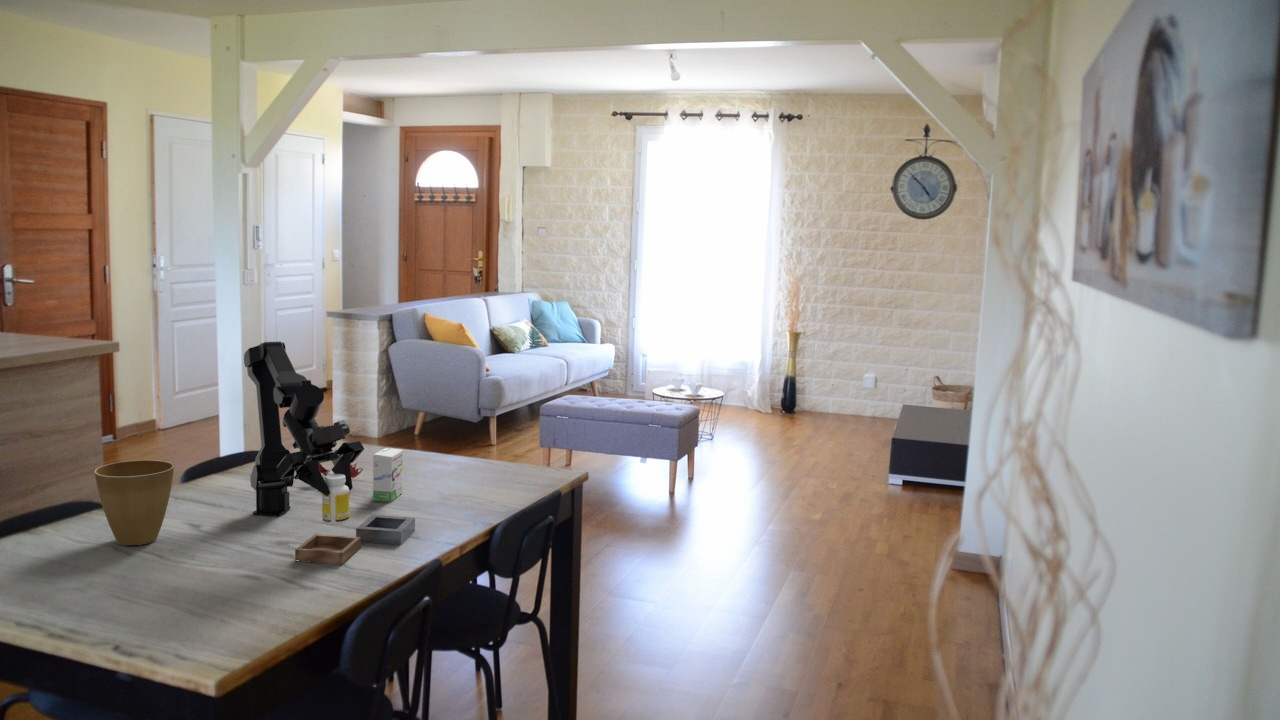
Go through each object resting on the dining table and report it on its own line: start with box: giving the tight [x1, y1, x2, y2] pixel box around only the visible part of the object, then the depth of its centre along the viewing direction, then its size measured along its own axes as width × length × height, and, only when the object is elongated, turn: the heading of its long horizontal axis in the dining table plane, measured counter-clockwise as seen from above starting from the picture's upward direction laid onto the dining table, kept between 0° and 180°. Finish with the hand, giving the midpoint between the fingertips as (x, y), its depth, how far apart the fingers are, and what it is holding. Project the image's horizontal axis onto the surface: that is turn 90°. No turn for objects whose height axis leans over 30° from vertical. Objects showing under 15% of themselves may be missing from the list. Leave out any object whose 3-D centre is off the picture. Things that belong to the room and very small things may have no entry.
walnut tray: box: [294, 533, 362, 566], centre depth 202 cm, size 10×10×2 cm
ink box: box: [372, 447, 404, 503], centre depth 245 cm, size 8×5×12 cm, turn 174°
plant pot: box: [93, 459, 175, 546], centre depth 205 cm, size 15×15×16 cm
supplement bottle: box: [321, 474, 350, 526], centre depth 202 cm, size 5×5×10 cm
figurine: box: [318, 462, 364, 480], centre depth 254 cm, size 15×12×7 cm
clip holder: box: [355, 514, 416, 546], centre depth 215 cm, size 10×10×3 cm
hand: (340, 491), depth 201 cm, fingers closed on supplement bottle, 5 cm apart
